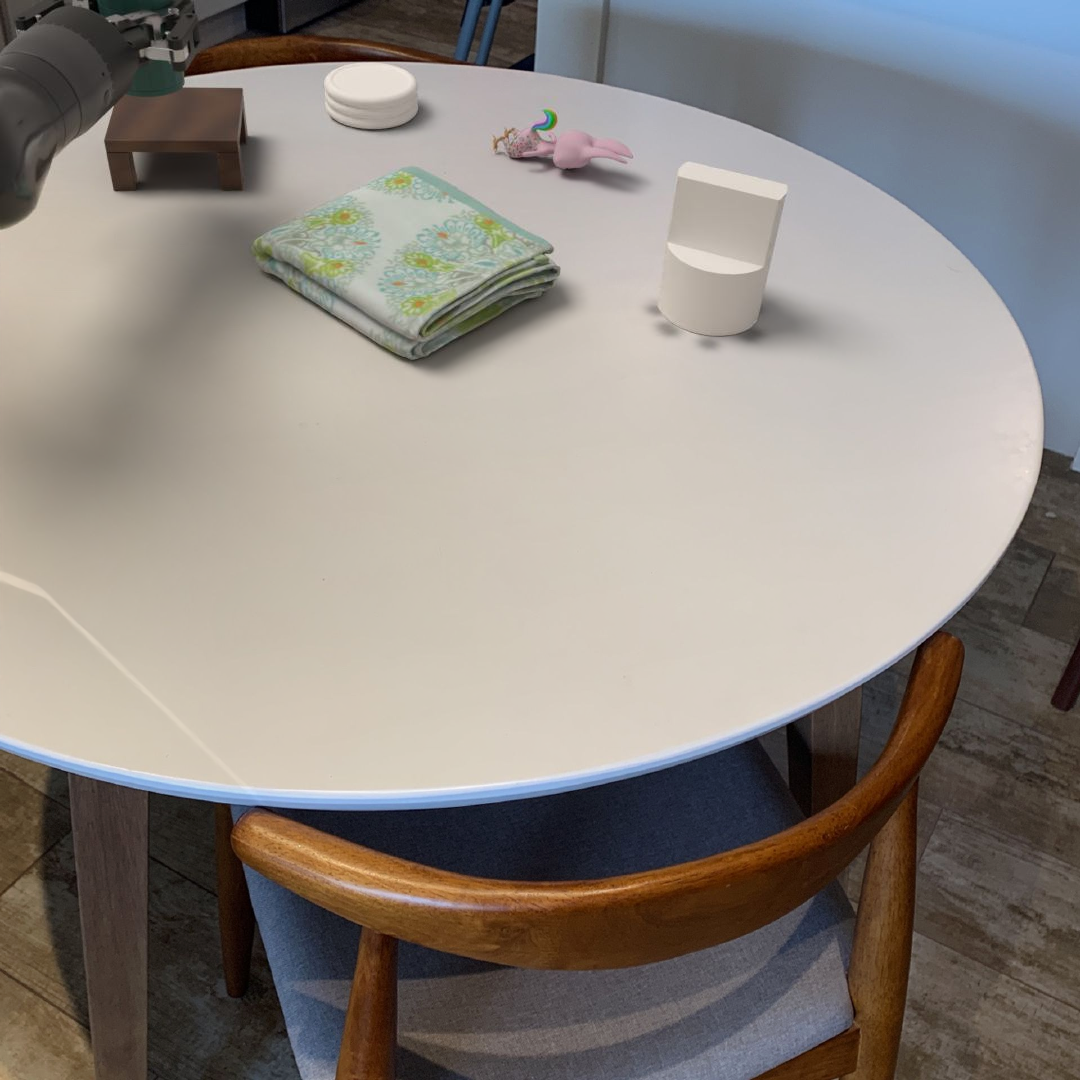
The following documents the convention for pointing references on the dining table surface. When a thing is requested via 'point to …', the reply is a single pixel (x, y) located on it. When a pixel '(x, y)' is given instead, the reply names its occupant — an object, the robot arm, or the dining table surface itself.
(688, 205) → the base with upright slab
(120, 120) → the stand
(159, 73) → the jar
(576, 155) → the rabbit figure
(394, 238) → the towel
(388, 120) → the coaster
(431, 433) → the dining table surface
